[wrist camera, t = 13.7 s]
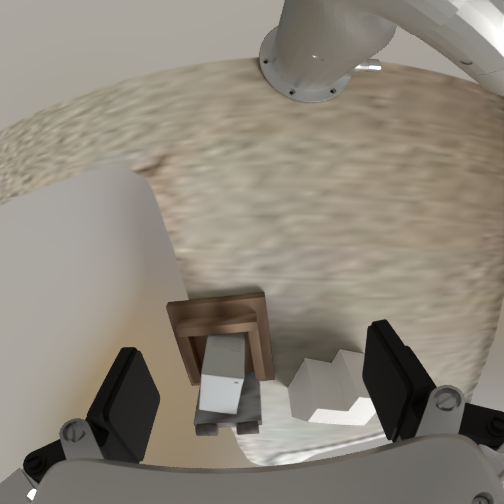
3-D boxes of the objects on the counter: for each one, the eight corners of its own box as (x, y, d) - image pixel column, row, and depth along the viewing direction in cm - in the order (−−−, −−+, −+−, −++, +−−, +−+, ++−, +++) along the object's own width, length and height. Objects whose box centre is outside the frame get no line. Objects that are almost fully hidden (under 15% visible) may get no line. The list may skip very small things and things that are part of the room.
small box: (209, 326, 44) (200, 372, 34) (245, 331, 44) (244, 378, 34) (205, 364, 47) (197, 410, 37) (238, 368, 47) (236, 415, 37)
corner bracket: (363, 353, 48) (386, 399, 37) (336, 394, 52) (350, 440, 41) (312, 343, 47) (328, 393, 36) (287, 387, 51) (295, 437, 40)
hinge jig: (264, 292, 44) (270, 352, 30) (274, 374, 49) (280, 436, 36) (168, 302, 44) (141, 360, 31) (192, 380, 50) (180, 440, 36)
